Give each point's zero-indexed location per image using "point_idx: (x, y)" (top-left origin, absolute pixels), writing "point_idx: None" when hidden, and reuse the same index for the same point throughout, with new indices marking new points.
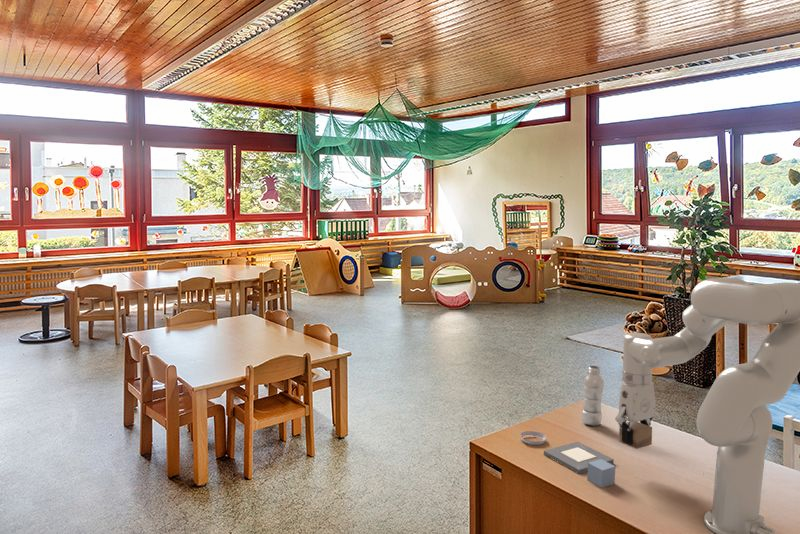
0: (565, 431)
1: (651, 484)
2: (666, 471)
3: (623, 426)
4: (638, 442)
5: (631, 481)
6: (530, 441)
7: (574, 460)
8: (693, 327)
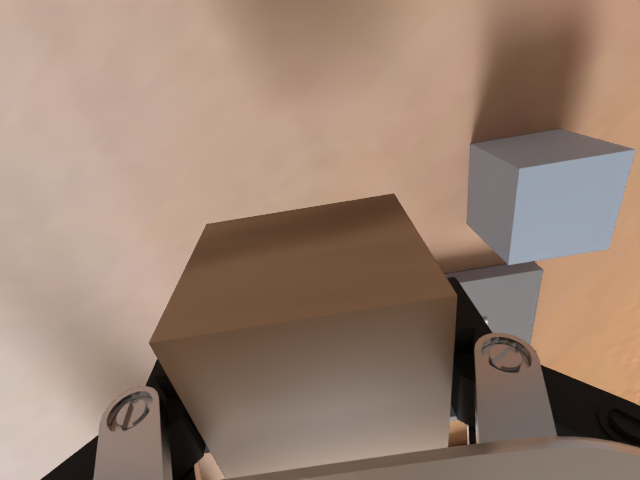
0: None
1: (304, 68)
2: (127, 161)
3: (612, 402)
4: (389, 221)
5: (378, 132)
6: None
7: None
8: None
